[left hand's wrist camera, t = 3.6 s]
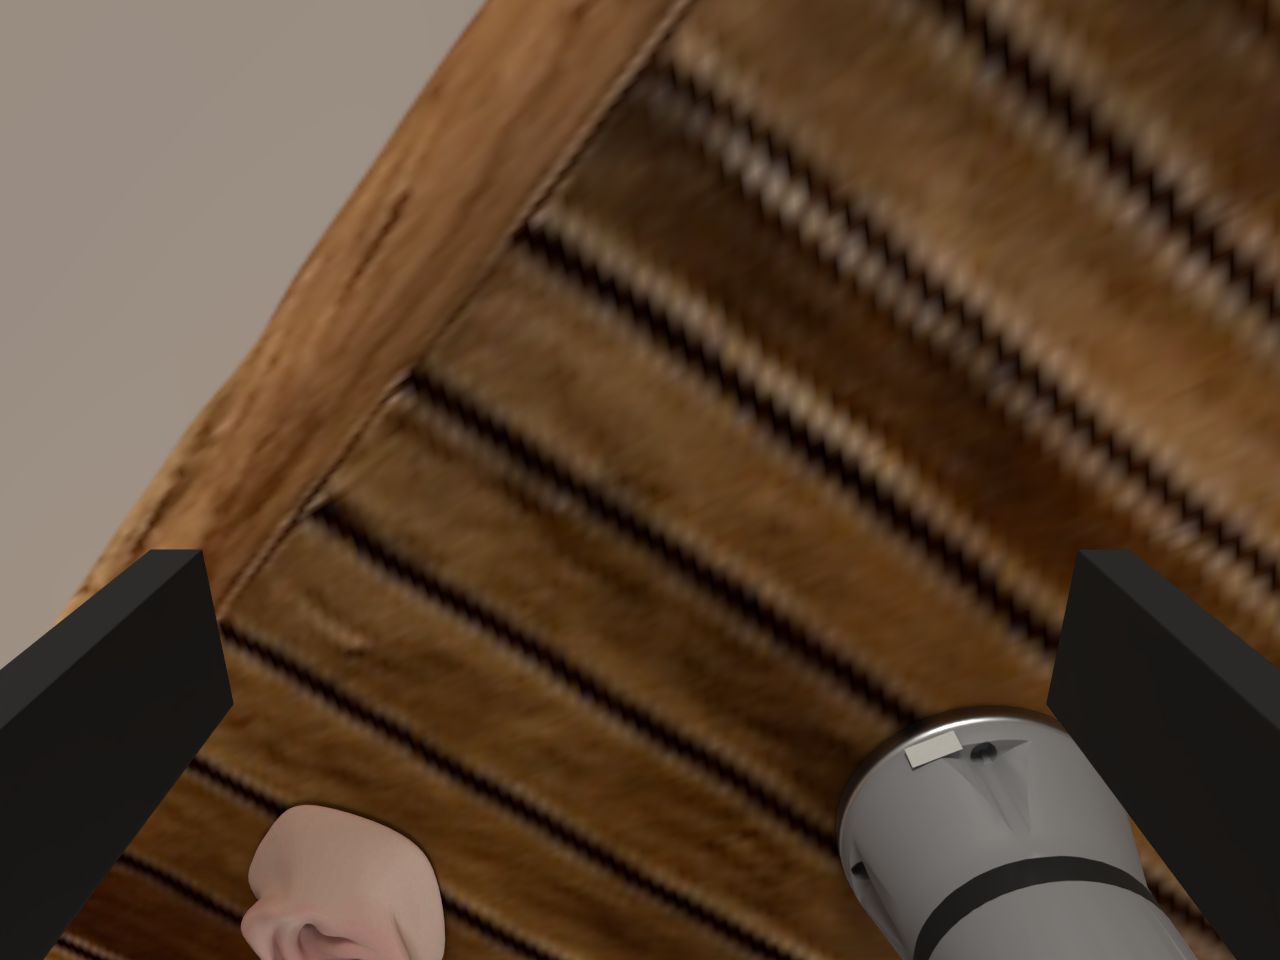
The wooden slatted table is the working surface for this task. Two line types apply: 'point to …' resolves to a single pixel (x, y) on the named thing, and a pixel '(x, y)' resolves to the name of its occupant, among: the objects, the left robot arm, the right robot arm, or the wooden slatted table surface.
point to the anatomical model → (341, 891)
